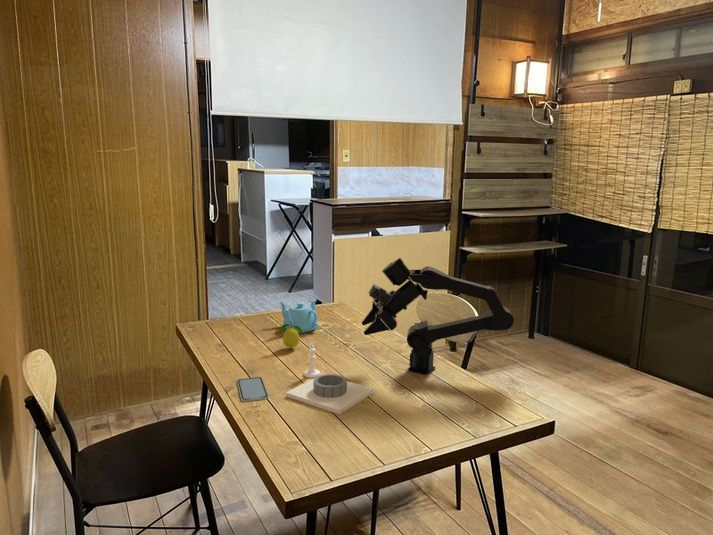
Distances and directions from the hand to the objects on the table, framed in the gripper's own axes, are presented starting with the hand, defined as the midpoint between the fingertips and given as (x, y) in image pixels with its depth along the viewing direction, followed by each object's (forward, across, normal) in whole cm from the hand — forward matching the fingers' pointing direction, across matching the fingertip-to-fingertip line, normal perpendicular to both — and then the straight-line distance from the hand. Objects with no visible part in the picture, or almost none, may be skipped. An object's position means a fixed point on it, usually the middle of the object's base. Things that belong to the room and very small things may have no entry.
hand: (363, 328), depth 163 cm
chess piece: (+20, +4, 0) cm, 21 cm away
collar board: (+16, +18, +3) cm, 25 cm away
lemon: (+27, -18, -5) cm, 33 cm away
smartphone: (+33, +14, -10) cm, 38 cm away
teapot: (+26, -42, -4) cm, 49 cm away
